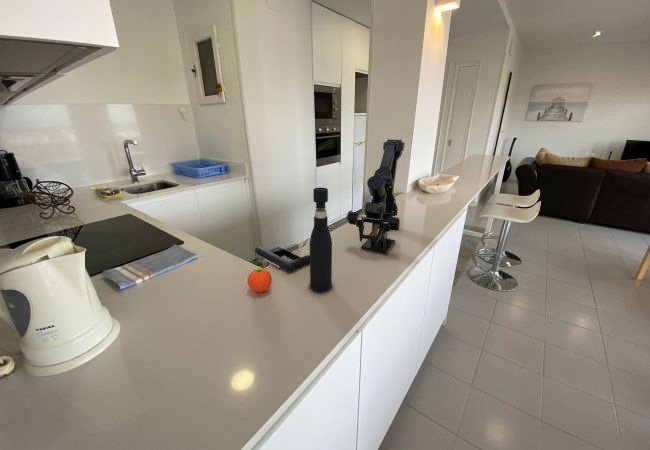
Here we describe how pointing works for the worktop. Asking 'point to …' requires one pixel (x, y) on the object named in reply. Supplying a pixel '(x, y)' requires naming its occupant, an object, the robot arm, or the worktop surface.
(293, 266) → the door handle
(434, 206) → the worktop surface
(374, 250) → the bracket
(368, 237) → the lever
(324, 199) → the black bottle
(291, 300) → the worktop surface
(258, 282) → the clementine
